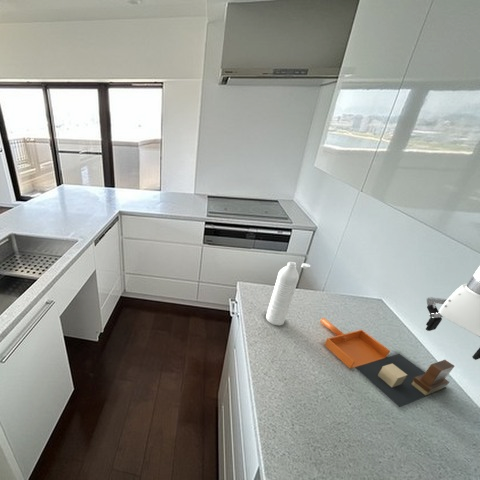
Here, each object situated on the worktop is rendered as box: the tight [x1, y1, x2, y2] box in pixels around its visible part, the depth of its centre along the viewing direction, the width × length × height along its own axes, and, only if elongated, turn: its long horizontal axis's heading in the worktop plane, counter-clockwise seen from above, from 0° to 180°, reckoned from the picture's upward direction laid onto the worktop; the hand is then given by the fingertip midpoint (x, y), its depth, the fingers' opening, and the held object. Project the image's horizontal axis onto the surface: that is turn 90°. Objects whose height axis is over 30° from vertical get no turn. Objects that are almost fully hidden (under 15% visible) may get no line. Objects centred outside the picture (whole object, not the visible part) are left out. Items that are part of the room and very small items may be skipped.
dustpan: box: [320, 317, 391, 369], centre depth 88 cm, size 18×16×3 cm
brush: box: [412, 359, 455, 395], centre depth 72 cm, size 8×4×9 cm, turn 107°
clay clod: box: [378, 363, 407, 387], centre depth 74 cm, size 4×4×4 cm
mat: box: [354, 353, 447, 408], centre depth 76 cm, size 20×12×1 cm, turn 107°
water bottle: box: [265, 260, 311, 326], centre depth 91 cm, size 9×6×25 cm
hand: (452, 342), depth 67 cm, fingers open, 9 cm apart
